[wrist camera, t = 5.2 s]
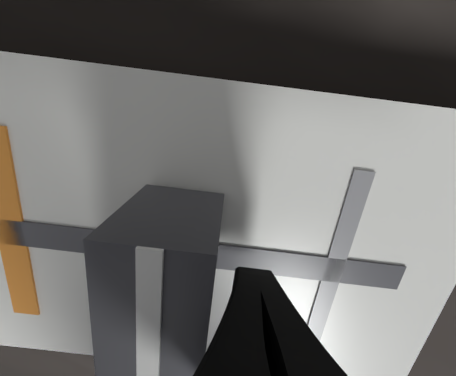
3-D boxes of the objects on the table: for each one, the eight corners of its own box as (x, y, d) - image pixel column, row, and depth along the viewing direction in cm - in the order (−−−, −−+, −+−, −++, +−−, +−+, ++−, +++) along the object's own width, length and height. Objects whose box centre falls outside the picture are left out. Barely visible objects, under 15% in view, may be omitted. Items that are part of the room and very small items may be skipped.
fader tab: (209, 313, 11) (196, 427, 7) (145, 306, 11) (96, 415, 7) (224, 193, 9) (217, 258, 5) (146, 184, 9) (80, 242, 5)
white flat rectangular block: (370, 337, 16) (401, 391, 13) (-14, 294, 15) (-73, 338, 12) (463, 116, 11) (545, 119, 8) (-79, 47, 11) (-197, 25, 8)
